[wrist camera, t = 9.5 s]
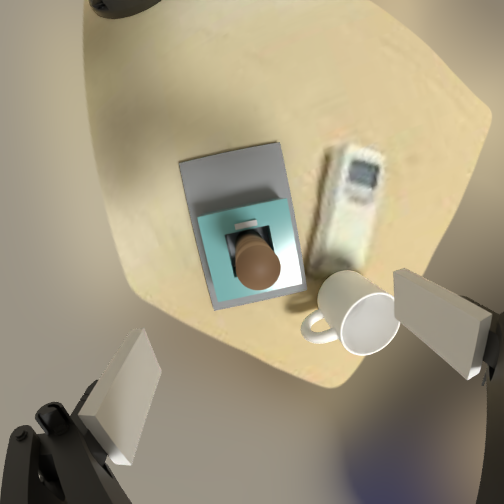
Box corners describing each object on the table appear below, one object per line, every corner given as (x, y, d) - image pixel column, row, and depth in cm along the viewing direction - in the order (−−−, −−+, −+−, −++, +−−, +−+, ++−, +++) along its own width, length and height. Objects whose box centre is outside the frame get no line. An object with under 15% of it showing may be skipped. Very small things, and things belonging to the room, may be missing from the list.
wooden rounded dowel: (232, 233, 36) (231, 252, 22) (259, 226, 36) (276, 242, 22) (238, 260, 37) (241, 294, 23) (265, 254, 37) (284, 284, 23)
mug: (301, 339, 41) (320, 378, 31) (283, 292, 39) (300, 325, 29) (371, 307, 41) (405, 336, 31) (359, 259, 39) (395, 280, 29)
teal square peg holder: (201, 214, 35) (196, 217, 30) (279, 197, 36) (287, 198, 30) (219, 288, 38) (217, 303, 32) (293, 272, 38) (303, 284, 32)
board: (180, 164, 35) (178, 163, 34) (278, 143, 35) (279, 142, 34) (214, 307, 39) (214, 310, 38) (305, 287, 39) (307, 290, 38)
